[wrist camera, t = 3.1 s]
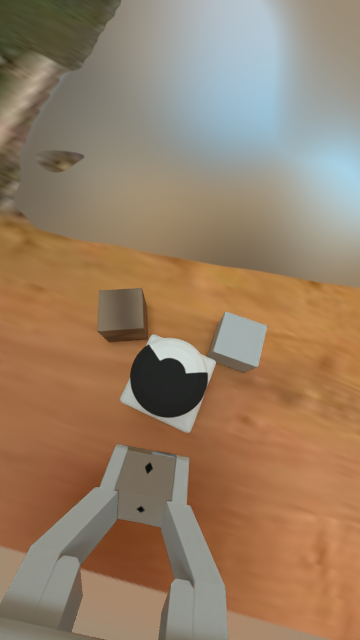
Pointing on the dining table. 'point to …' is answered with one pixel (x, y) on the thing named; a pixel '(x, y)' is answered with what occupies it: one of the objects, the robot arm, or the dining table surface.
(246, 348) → the grey painted block
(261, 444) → the dining table surface
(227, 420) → the dining table surface
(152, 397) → the medicine bottle
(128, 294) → the walnut block
